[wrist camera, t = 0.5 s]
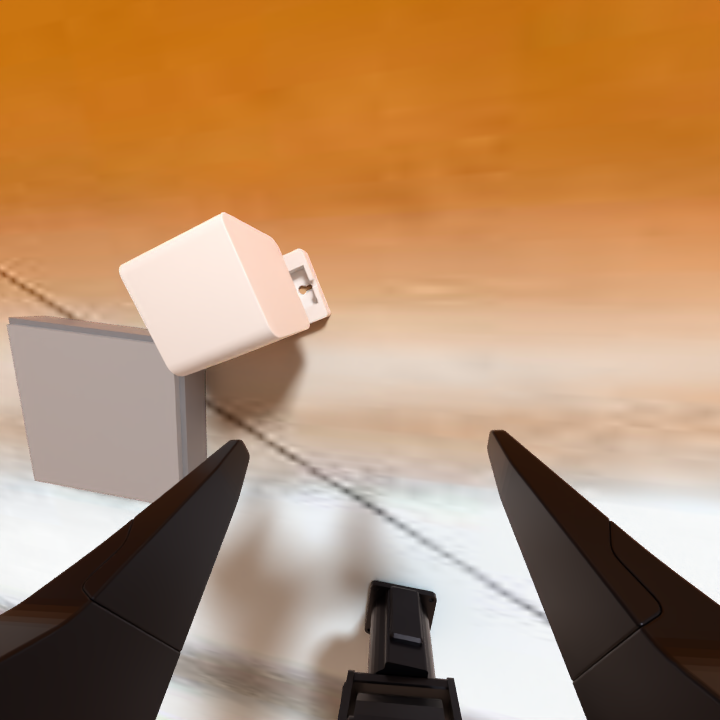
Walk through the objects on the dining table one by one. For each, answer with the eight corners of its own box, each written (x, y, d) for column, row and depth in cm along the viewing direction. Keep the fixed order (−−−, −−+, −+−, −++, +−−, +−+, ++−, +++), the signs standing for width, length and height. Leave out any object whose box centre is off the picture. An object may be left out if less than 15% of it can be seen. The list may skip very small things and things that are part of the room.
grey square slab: (207, 491, 28) (185, 513, 25) (67, 465, 29) (31, 484, 26) (204, 336, 24) (178, 341, 21) (44, 316, 26) (0, 317, 23)
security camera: (230, 278, 23) (110, 261, 13) (304, 245, 22) (232, 198, 12) (261, 348, 24) (172, 380, 14) (333, 319, 23) (290, 333, 13)
